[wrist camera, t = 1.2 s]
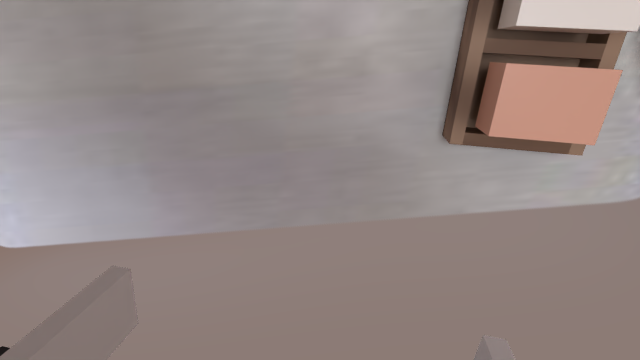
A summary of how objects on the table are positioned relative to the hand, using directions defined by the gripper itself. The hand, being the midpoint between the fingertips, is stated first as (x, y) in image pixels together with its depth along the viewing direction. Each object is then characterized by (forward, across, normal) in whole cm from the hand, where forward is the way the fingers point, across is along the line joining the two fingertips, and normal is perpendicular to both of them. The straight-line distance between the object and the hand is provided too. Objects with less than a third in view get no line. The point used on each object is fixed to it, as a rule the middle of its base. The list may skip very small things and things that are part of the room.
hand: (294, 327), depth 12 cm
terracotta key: (+18, +13, +8) cm, 24 cm away
